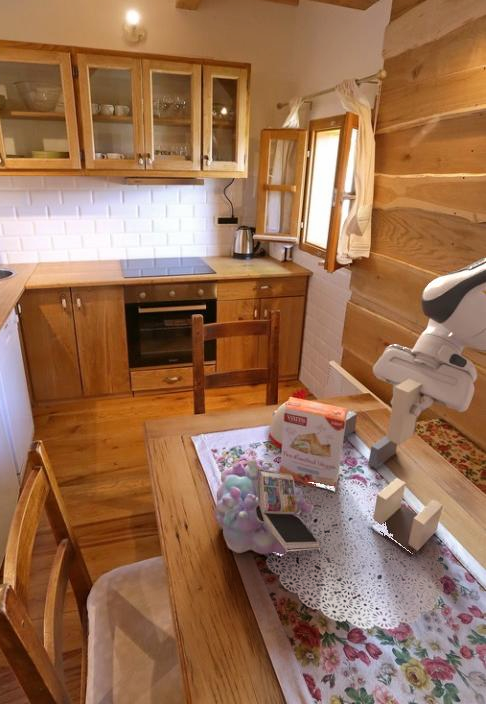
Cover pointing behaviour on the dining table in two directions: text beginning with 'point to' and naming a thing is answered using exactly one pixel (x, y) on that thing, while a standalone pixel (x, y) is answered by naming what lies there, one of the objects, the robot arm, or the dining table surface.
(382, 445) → the grey book
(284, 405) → the kitchen timer
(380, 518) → the cream book
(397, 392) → the tall beige block
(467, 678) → the dining table surface
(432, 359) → the robot arm
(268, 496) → the pastel bumpy hinged case
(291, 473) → the cracker box
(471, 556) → the dining table surface
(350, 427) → the grey book
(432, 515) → the cream book
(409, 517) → the dark flat slab
